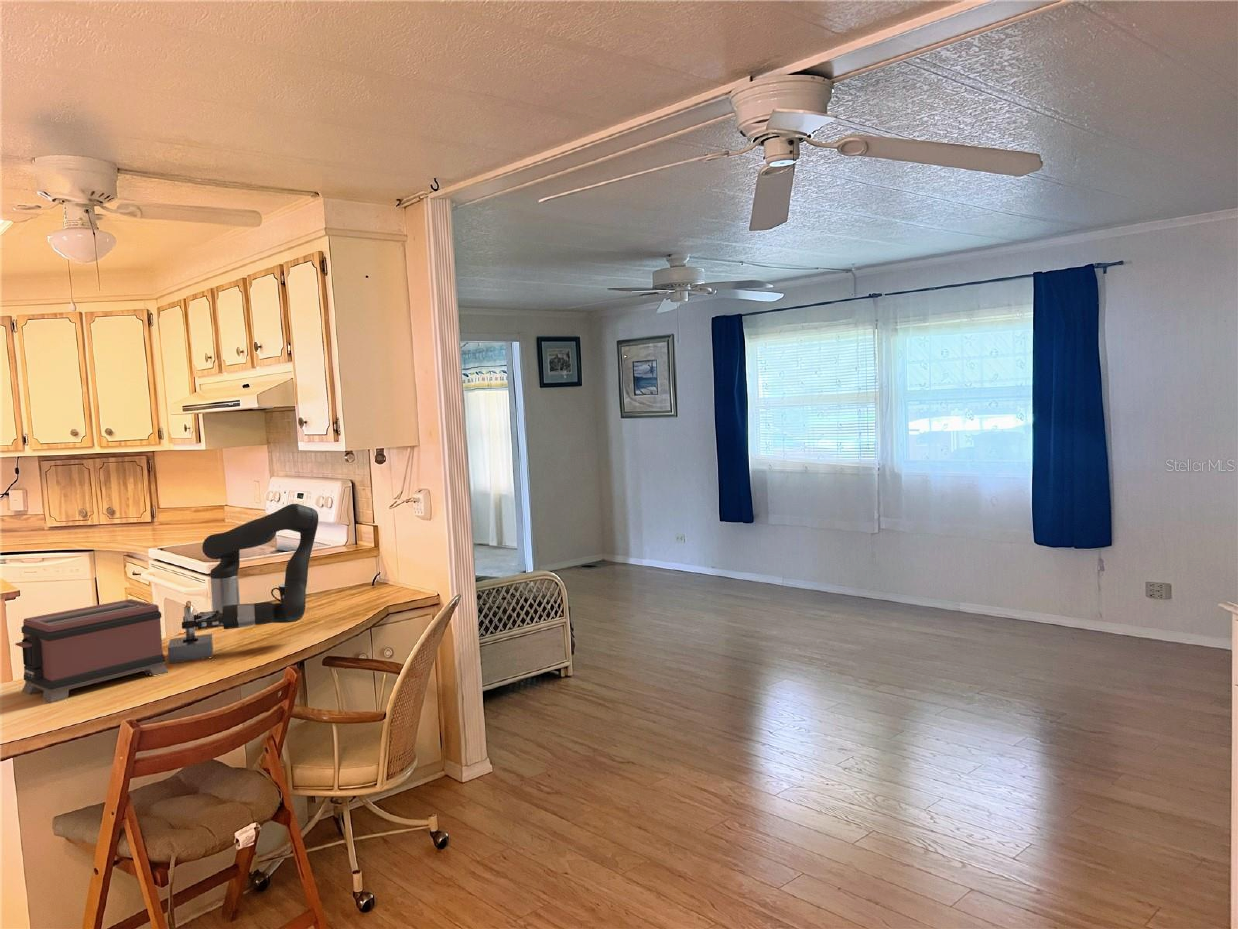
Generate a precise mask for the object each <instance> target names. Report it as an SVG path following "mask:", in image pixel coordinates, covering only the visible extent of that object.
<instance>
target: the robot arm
mask: <svg viewBox="0 0 1238 929" xmlns="http://www.w3.org/2000/svg"><path fill="white" fill-rule="evenodd" d="M318 524H319V513H318V511H317V510H316V509H314V508H312V507H309V506H306V505H303V504H300V503H290V504H287V505H286V506H284V507H282V508H280V509H278V510H276V511H274V512H273V513H270V514H267V515H264V516H262V517H259V518H256V519H252V520H250V521H248V522H245V523H243V524H241V525H238V526H237V527H234V528H232V529H230V530H228V531H225V532H219V533H214V534H210V535H209V536H207V537H206V538H205V539H204V540H203V543H202V545H201V546H202V548H201V549H202V553H203V554H204V556H205V557H207V558H208V559H211V560H220V562H219V563H217V565H216V566H214V567H213V568H212V569H210V574H209V575H210V590H211V591H210V592H211V607H212V610H210V611H200V612H198V613H196V614H194V620H192V621H185V617H184V616H182V618H183V619H182V622H181V629H182V630H185V629H188V628H195V629H197V630H202V629H203V630H204V629H210V628H211V629H212V628H219V627H220V626H222V627H223V629H224V630H231V629H232V630H233V629H239V628H248V627H252V626H260V625H267V624H289V623H290V624H291V623H295V622H298V621H300V620H301V619H302V618H303V617H304V615H305V612H306V611H305V610H306V600H307V598H306V597H307V593H306V592H307V591H306V590H307V586H308V574H309V566H310V565H309V564H310V559H311V554H312V550H313V546H314V542H315V539H316V536H317V535H316V534H317V531H318ZM287 530H288V531H292V532H296V533H299V534H300V538H299V544H298V546H297V549H296V550H295V551H294V553H292V554H293V555H291V557H290V559H289V560H288V562H287V564H286V567H285V577H284V584H285V593H284V600H283V603H281V602H278V603H277V602H276V603H273V602H270V601H267V602H266V601H264V602H256V603H255V602H254V603H240V602H241V601H240V600H241V599H240V584H239V581H240V580H239V569H240V563H241V562H240V558H241V557H240V555H241V554H240V553H241V552H240V551H241V550H247V549H252V548H256V547H259V546H264V545H266V544H268V543H271V541H273V540H274V539H275V537H276V535H277V532H280V531H287Z"/></svg>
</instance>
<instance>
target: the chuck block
mask: <svg viewBox="0 0 1238 929" xmlns="http://www.w3.org/2000/svg"><path fill="white" fill-rule="evenodd" d="M213 651H214V642H213V633H207V634H200V635H195V642H187V643H186V636H184V637H175V638H170V640H169V643H168V646H167V653H168V654H167V656H168V664H169V665H170V664H177V662H179V663H183V662H182V661H186V662H191V661H192V660H194V661H199V660H198V659H201V660H203V659H202V658H209V657H212V658H213V655H212V654H213ZM209 659H210V658H209ZM192 662H193V661H192Z"/></svg>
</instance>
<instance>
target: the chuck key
mask: <svg viewBox="0 0 1238 929" xmlns="http://www.w3.org/2000/svg"><path fill="white" fill-rule="evenodd" d="M191 604H192V602H191V600H187V601H186V602H185V606H183V617H185V621H192V620H194V615H195V614H194V605H191ZM184 630H185V631H184V632H185V637H186V643H187V642H195V636H196V632H195V631H196V627H195V628H188V629H184Z"/></svg>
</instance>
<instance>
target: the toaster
mask: <svg viewBox="0 0 1238 929" xmlns="http://www.w3.org/2000/svg"><path fill="white" fill-rule="evenodd" d="M161 618H162V612H161V611H160V607H159V605H158V604H157V603H156V604H155V603H150V602H146V601H141V600H138V599H132V598H129V599H124V600H123V599H122V600H118V601H112V602H108V603H101V604H97V605H92V606H91V605H90V606H86V607H85V606H84V607H81V608H74V609H69V610H64V611H58V612H54V613H49V614H42V615H37V616H32V617H26V618H24V619H23V621H22V622H23V625H22V626H21V628H20V629H21V633H22V636H23V638H22V640H21V642H15V646H17V647H20V648H22V649H21V650H22V661H23V665H24V666H23V681H25V684H23V688H22V690H21V692H22V693H25V694H27V695H33V694H37V693H41V691H42V692H43V693H42V698H41V699H42V701H43V702H46V703H49V704H53V703H57V702H61V701H65V699H66V700H68V699H67V698H69V691H70V690H72V689H76V688H80V687H84V686H89V685H92V684H97V683H101V682H104V681H109V680H112V679H116V678H120V677H123V676H128V675H133V674H136V673H139V672H144V673H145V674H146V673H147V674H146V675H148V674H151V675H150V676H152V675H158V674H162V675H166V674H169V673H168V672H169V670H168V668H167V667H166V666H165V663H166V656H165V654H164V653H163V642H162V641H163V639H162V626H161ZM165 673H166V674H165ZM158 676H159V675H158Z"/></svg>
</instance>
